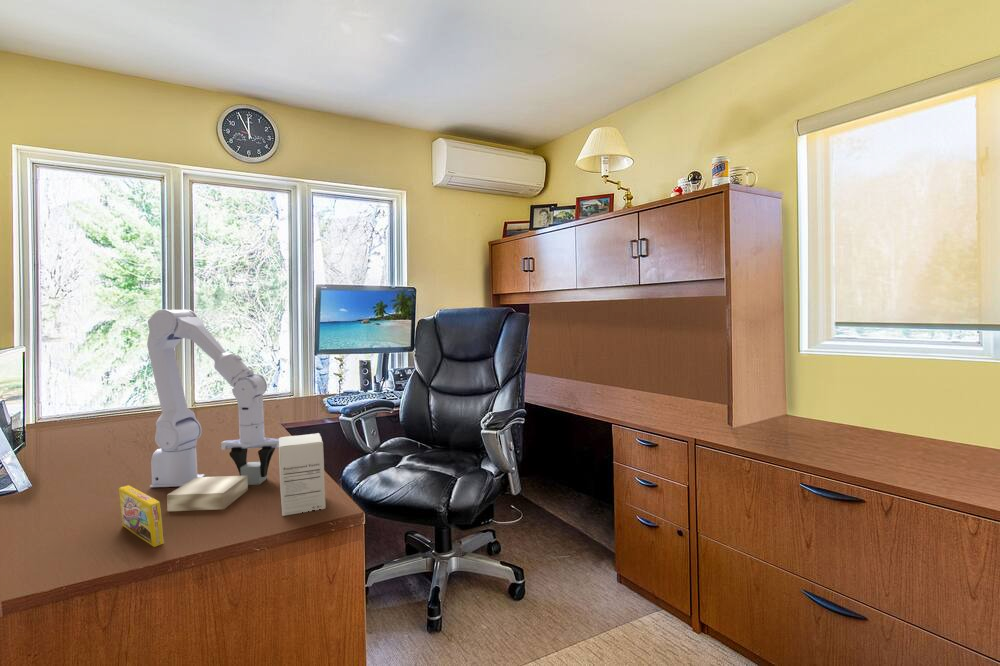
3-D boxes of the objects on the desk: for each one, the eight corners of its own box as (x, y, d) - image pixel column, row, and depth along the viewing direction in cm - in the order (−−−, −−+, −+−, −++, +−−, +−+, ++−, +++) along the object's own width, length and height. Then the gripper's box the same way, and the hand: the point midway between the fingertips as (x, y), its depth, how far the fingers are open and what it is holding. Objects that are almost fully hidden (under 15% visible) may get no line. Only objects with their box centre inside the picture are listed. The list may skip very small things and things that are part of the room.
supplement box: (280, 502, 116) (278, 436, 115) (322, 495, 120) (320, 432, 119) (281, 516, 108) (278, 446, 107) (326, 509, 111) (323, 441, 111)
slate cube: (241, 485, 128) (240, 467, 128) (248, 479, 133) (248, 462, 133) (259, 484, 128) (258, 466, 128) (266, 478, 133) (266, 461, 133)
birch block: (167, 513, 112) (166, 495, 112) (197, 493, 124) (196, 477, 124) (224, 510, 113) (223, 492, 113) (247, 491, 125) (247, 475, 125)
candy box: (120, 527, 104) (118, 487, 104) (132, 523, 106) (130, 484, 106) (151, 548, 94) (149, 504, 94) (164, 544, 96) (162, 500, 96)
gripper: (214, 427, 126) (216, 482, 126) (274, 425, 126) (277, 480, 127) (227, 421, 133) (230, 473, 133) (285, 419, 133) (287, 471, 134)
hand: (253, 476), depth 131 cm, fingers closed on slate cube, 4 cm apart
